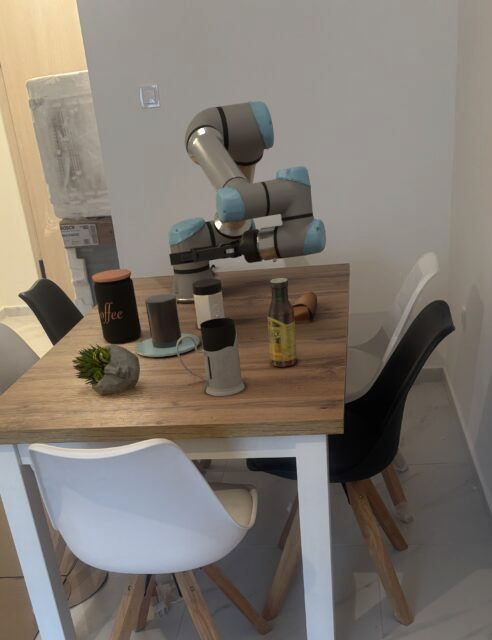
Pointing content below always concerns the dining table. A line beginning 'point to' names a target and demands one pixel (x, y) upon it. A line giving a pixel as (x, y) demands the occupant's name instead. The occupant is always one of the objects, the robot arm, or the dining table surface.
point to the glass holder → (219, 357)
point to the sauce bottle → (281, 325)
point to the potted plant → (108, 369)
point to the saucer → (148, 349)
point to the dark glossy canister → (163, 320)
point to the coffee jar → (117, 306)
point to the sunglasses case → (304, 308)
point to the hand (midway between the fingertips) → (181, 256)
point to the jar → (208, 300)
